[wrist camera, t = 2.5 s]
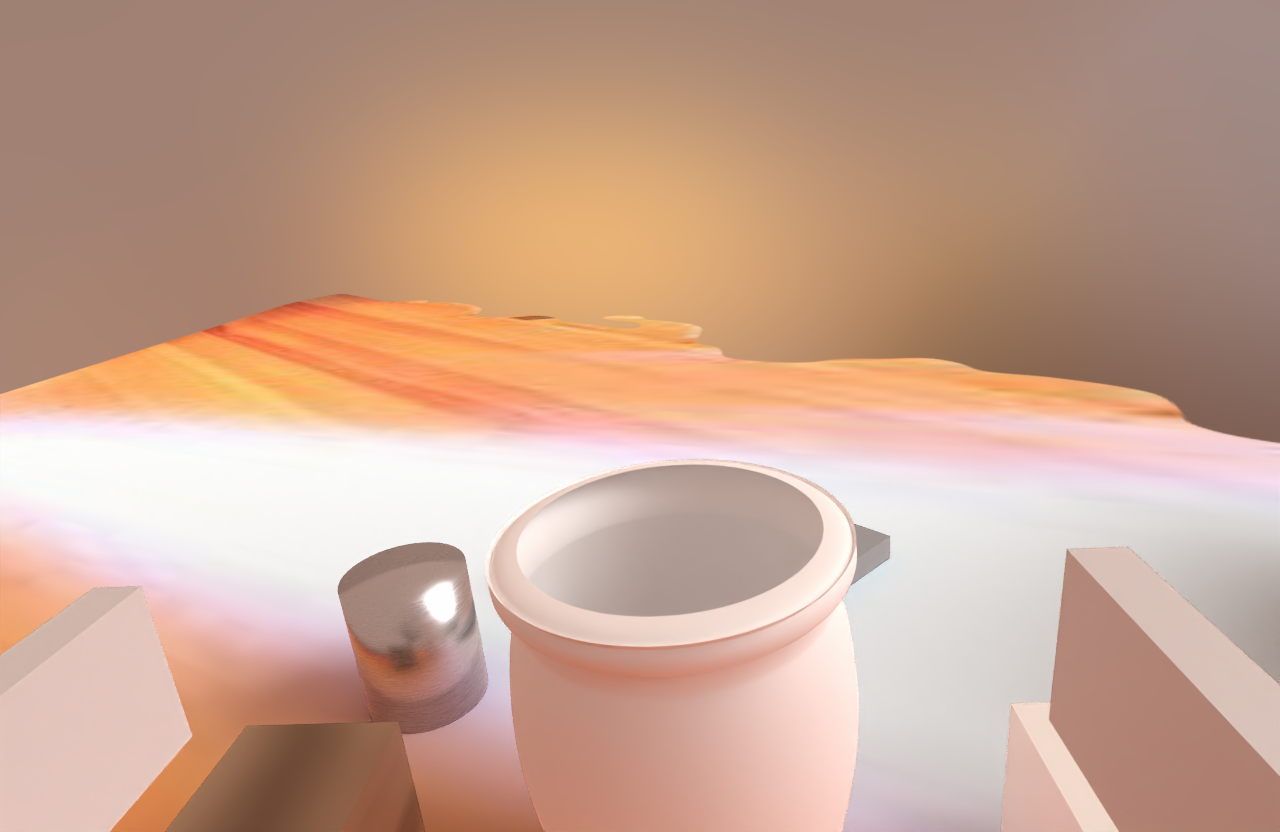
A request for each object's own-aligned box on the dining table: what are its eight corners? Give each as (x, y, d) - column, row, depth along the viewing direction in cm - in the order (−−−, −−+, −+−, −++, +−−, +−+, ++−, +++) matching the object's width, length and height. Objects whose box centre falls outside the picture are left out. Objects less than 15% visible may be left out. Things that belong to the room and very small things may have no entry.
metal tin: (510, 688, 39) (488, 568, 36) (399, 753, 35) (367, 624, 33) (454, 640, 43) (431, 531, 41) (350, 694, 39) (319, 577, 37)
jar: (840, 1146, 20) (832, 671, 15) (498, 1022, 24) (402, 609, 19) (871, 820, 29) (873, 461, 24) (622, 768, 33) (580, 447, 28)
